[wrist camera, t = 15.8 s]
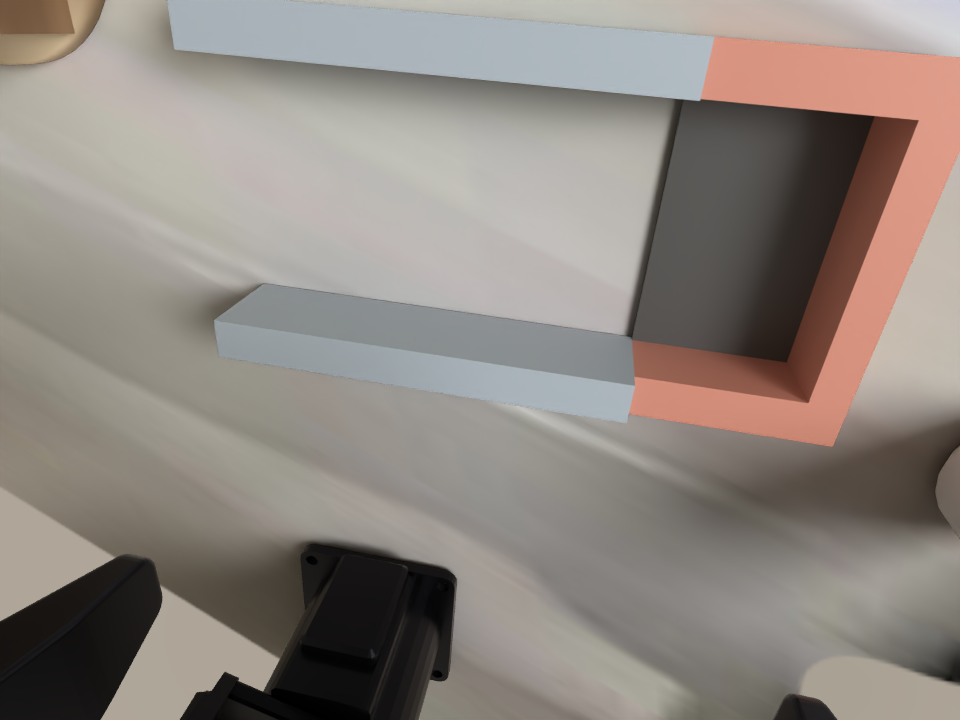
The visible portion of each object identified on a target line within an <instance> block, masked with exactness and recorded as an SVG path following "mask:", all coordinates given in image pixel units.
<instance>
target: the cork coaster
mask: <svg viewBox="0 0 960 720" xmlns="http://www.w3.org/2000/svg"><path fill="white" fill-rule="evenodd" d="M67 1H68V5H69V10H70V14H71V19H72V23H73V27H74V31H75V34H0V64H4V65H20V64H37V63H44V62H51V61H54V60H57V59H59V58H62V57H64V56H66V55H68V54H69V53H71V52H73V51H74V50H75V49H76V48H78V47H79V46H80V45H81V44H82V43H83V42H84V41H85V40H86V38H87V37H88V36H89V35H90V33H91V32H92V30H93V29H94V27H95V25H96V23H97V21H98V19H99V17H100V14H101V11H102V8H103V6H104V2H105V0H67Z"/></svg>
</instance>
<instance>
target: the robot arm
mask: <svg viewBox="0 0 960 720" xmlns="http://www.w3.org/2000/svg"><path fill="white" fill-rule="evenodd" d="M301 569H302V580H303V592H304V603H305V613H304V615H303V617H302V618H301V620H300V622H299V624H298V626H297V628H296V630H295V632H294V634H293V636H292V638H291V639H290V641H289V643H288V645H287V647H286V649H285V651H284V653H283V655H282V657H281V659H280V660H279V662H278V664H277V666H276V668H275V670H274V672H273V674H272V676H271V678H270V680H269V682H268V683H267V685H266V687H265V689H264V691H263V692H262V691H260V690H258V689H255V688H253V687H251V686H248V685H246V684H244V683H242V682H239V681H238V680H239V678H238V677H235V676H233V675H231V674H229V673H226V672H224V674H223V675H222V676H221V678H220V679H219V681H218V682H217V684H216V685H215V687H214V689H213V690H212V691H206V692H197V693H196V695H195V696H194V698H193V700H192V701H191V703H190V704H189V706H188V708H187V709H186V711H185V712H184V714H183V716H182V717H181V719H180V720H419V716H420V713H421V709H422V705H423V702H424V698H425V695H426V691H427V687H428V684H429V680H434V681H445V680H446V679H447V678H448V674H449V670H450V663H451V650H452V638H453V625H454V613H455V601H456V588H457V579H456V577H455V575H454V574H452V573H451V572H449V571H446V570H441V569H436V568H431V567H426V566H421V565H416V564H411V563H406V562H401V561H396V560H391V559H386V558H381V557H376V556H371V555H366V554H361V553H356V552H351V551H346V550H341V549H336V548H331V547H326V546H321V545H316V544H310V545H307V546H306V548H305V549H304V551H303V552H302V554H301ZM442 582H443V583H442ZM444 583H446V584H444ZM161 603H162V592H161V588H160V584H159V579H158V575H157V571H156V567H155V564H154V562H153V561H152V560H151V559H149V558H146V557H141V556H137V555H132V554H125V555H121V556H119V557H117V558H115V559H113V560H111V561H109V562H108V563H106V564H104V565H102V566H100V567H98V568H96V569H95V570H93V571H91V572H89V573H87V574H86V575H84V576H82V577H80V578H78V579H77V580H75V581H73V582H71V583H69V584H67V585H66V586H64V587H62V588H60V589H58V590H56V591H55V592H53V593H51V594H49V595H48V596H46V597H44V598H42V599H40V600H38V601H36V602H35V603H33V604H31V605H29V606H28V607H26V608H24V609H22V610H20V611H18V612H16V613H15V614H13V615H11V616H9V617H7V618H6V619H4V620H2V621H0V720H100V719H101V718H102V716H103V715H104V713H105V711H106V710H107V708H108V706H109V704H110V703H111V701H112V699H113V697H114V695H115V694H116V691H117V690H118V688H119V686H120V684H121V682H122V680H123V679H124V677H125V675H126V673H127V671H128V669H129V667H130V666H131V664H132V662H133V659H134V658H135V656H136V654H137V652H138V650H139V649H140V647H141V645H142V643H143V641H144V639H145V637H146V635H147V634H148V632H149V630H150V628H151V626H152V624H153V622H154V620H155V619H156V617H157V615H158V613H159V610H160V608H161ZM773 720H837V719H836V717H835V716H834V715H833V713H832V712H831V711H830V709H829V708H828V707H827V706H826V705H825V704H824V703H823V702H822V701H820V700H818V699H816V698H812V697H807V696H802V695H797V694H788V695H786V696H785V698H784V699H783V701H782V703H781V705H780V707H779V709H778V711H777V713H776V715H775V717H774V719H773Z"/></svg>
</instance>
